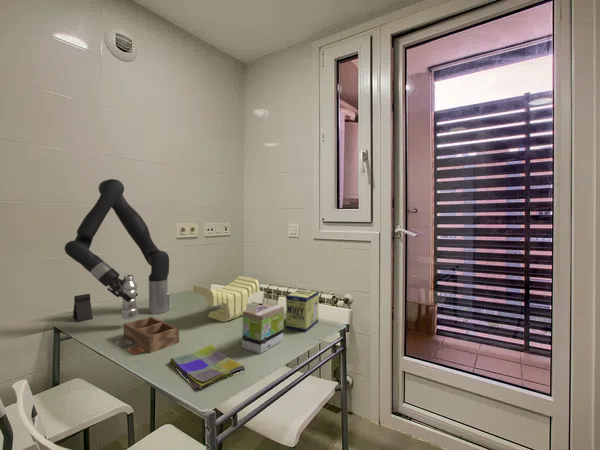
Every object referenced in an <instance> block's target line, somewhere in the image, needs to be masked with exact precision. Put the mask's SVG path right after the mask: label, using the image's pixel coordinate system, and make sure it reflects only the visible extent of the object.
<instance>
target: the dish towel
mask: <svg viewBox="0 0 600 450" xmlns="http://www.w3.org/2000/svg"><path fill="white" fill-rule="evenodd" d="M169 362H170V364H171V365H172V367H174V369H175V368H177V369H178V370H179V371H180V372H181V373H182V375H183V376H184V377H185V378H186V379H188V380H189V382H190V384H191V385H192V386H193V387H192V386H191V385H190V384H189V385H190V386H191V387H192V388H194V389H195V390H197V389H196V388H198V389H201V388H200V387H202V388H204V386H205V387H207V386H210V385H212V384H211V383H213V384H215V383H217V382H216V381H218V382H219V380H220V381H223V380H225V379H227V378H226V377H228V376H231V375H233V374H235V373H237V372H240V371H242V370H243V371H244V372H245V370H246V368H245V367H246V366H245V365H242V364H241V363H240V362H237V361H235V360H233V359H232V358H230V357H228V356H227V355H226V354H224V353H223V352H222V351H220V350H218V349H217V348H216V347H215V346H214V345H212V344H209V345H207V346H206V347H203V348H201V349H199V350H197V351H195V352H191V353H188V354H185V355H182V356H178V357H177V356H176V357H171V358H170V359H169ZM231 377H232V376H231ZM224 378H225V379H224ZM228 378H229V377H228ZM222 379H223V380H222ZM214 382H215V383H214ZM209 384H210V385H209ZM206 385H207V386H206Z"/></svg>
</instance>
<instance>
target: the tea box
mask: <svg viewBox="0 0 600 450" xmlns="http://www.w3.org/2000/svg"><path fill="white" fill-rule="evenodd" d="M284 316H285V307H284V306H282V305H281V306H280V305H276V304H273V303H268V302H266V303H263V304H261V305H258V306H255V307H253V308H250V309H246V311H244V312H243V315H242V335H241V336H242V339H241V340H242V341H241V342H242V344H241V347H242V348H243V349H245V350H248V351H251V352H254V353H257V354H263V352H266V351H267V350H268V349H271V348H273V346H275V345H277V344H279V343H281V342H283V341H284V329H285V328H284V325H285V324H284V322H285V321H284V320H285V317H284Z"/></svg>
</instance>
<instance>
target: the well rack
mask: <svg viewBox="0 0 600 450" xmlns="http://www.w3.org/2000/svg"><path fill="white" fill-rule="evenodd" d="M179 343H180V328H179V327H178V326H175V325H173V324H170V323H168V322H165V321H163V320H161V319H159V318H155V317H154V316H148V317H144V318H140V319H138V320H134V321H129V322H126V323H124V324H123V339H121V340H118V341H115V344H116V345H118V346H120V347H121V348H124V347H127V346H130V345H133V344H134V345H135V346H133V347H130V348H127V352H129V353H131V354H132V353H133V355H134V356H135V354H136V355H138V353H139V354H141V352H142V353H144V352H147V351H148V352H147V353H149V352H150V353H149V354H151V352H152V353H154V352H157V351H160V350H162V349H164V348H168V347H170V346H173V345H175V344H176V345H177V344H179Z"/></svg>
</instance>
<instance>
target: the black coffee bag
mask: <svg viewBox="0 0 600 450" xmlns="http://www.w3.org/2000/svg"><path fill="white" fill-rule="evenodd" d="M72 319H73V320H75V322H78V323H80V322H85V321H88V320H92V319H93V312H92V303H91V294H90V293H87V294H86V293H85V294H79V295H75V296H74V304H73V311H72Z"/></svg>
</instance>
